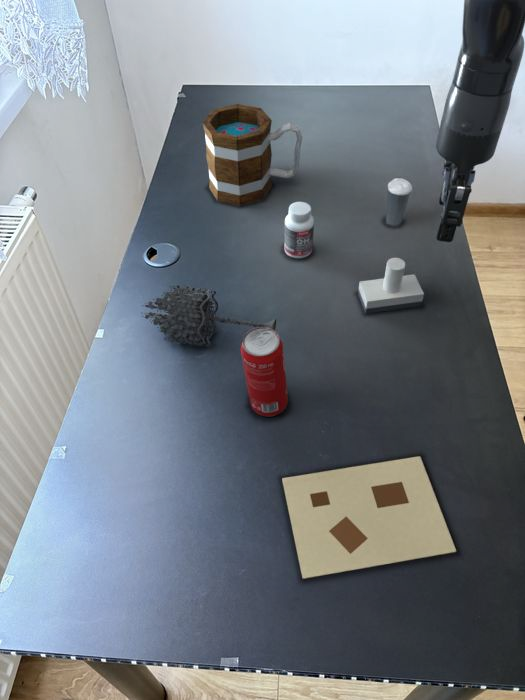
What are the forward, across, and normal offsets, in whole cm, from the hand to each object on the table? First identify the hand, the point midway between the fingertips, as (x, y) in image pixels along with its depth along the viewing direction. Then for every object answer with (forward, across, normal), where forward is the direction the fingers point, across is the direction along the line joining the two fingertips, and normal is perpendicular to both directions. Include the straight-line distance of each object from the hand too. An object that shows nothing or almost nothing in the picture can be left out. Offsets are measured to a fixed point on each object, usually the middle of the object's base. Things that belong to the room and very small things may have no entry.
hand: (445, 221), depth 87 cm
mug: (+20, +31, +36) cm, 52 cm away
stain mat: (+20, -38, +5) cm, 43 cm away
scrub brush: (+20, +3, +6) cm, 21 cm away
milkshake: (+20, +25, +7) cm, 33 cm away
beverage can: (+20, -24, +22) cm, 38 cm away
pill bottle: (+20, +12, +24) cm, 33 cm away
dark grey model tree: (+20, -12, +34) cm, 41 cm away
